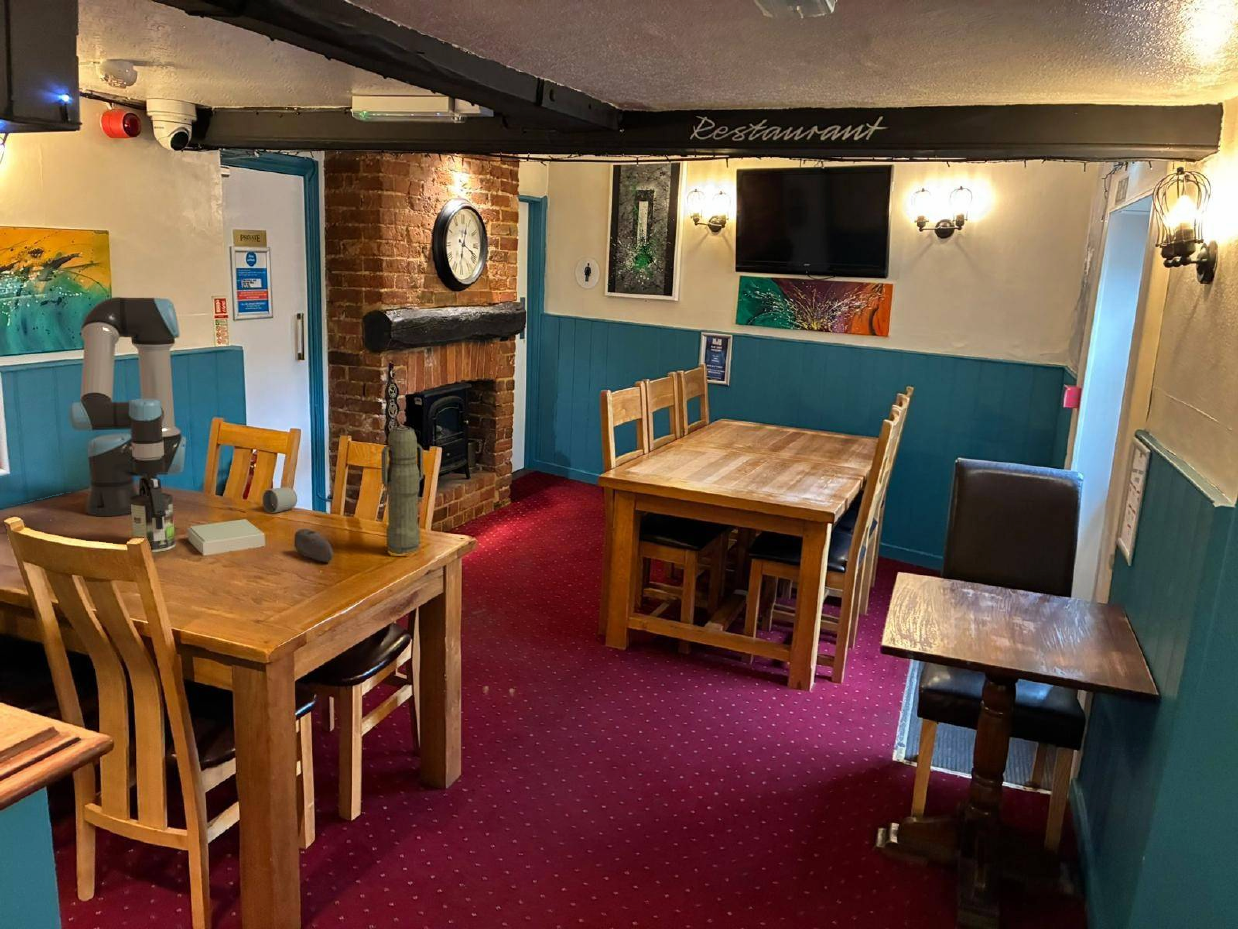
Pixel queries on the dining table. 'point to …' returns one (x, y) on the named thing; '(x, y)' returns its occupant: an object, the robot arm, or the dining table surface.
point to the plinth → (225, 537)
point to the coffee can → (144, 523)
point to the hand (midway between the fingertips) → (153, 533)
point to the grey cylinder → (279, 499)
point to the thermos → (402, 489)
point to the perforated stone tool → (313, 545)
